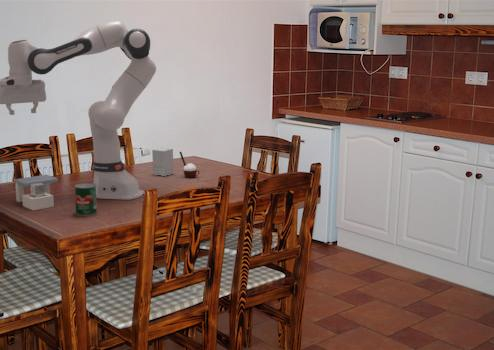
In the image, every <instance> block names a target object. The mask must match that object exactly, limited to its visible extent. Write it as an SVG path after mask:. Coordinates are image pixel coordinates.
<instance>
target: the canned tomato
mask: <svg viewBox="0 0 494 350" xmlns="http://www.w3.org/2000/svg"><path fill="white" fill-rule="evenodd" d="M93 183H94V182H93ZM93 183H92V182H82V183H77V184H74V201H75V204H74V205H75V215H77V216H81V217H89V216H90V217H91V216H94V215H96V214H97V212H98V210H97V208H98V207H97V206H98V205H97V198H96V184H93Z"/></svg>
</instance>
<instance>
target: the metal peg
mask: <svg viewBox="0 0 494 350" xmlns="http://www.w3.org/2000/svg"><path fill="white" fill-rule="evenodd" d="M29 187H30V194H31V197H33V198H36V197H42V196H45V186H44V184H42V183H35V184H30V186H29Z"/></svg>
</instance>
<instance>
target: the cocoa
mask: <svg viewBox="0 0 494 350" xmlns="http://www.w3.org/2000/svg"><path fill="white" fill-rule="evenodd" d="M179 156H180V158H181V160H182V163H183V165H184V166H183V175H184V177H185V176H186V178H187V177H193V178H194V176H195V177H197V176H198V175H199V174H200V170H198V169H197V166H196V165H195V164H193V163H191V162H190V163H186V161H185V159H184V156H183V153H182V151H179ZM197 172H198V173H197Z"/></svg>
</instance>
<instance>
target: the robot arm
mask: <svg viewBox="0 0 494 350" xmlns="http://www.w3.org/2000/svg"><path fill="white" fill-rule="evenodd" d="M114 48H120V50H121V51H122V53H124V55H125V56H126V57H127V58H129V60H131V62H130V63H129V65H128V67H127V68H126V69H125V70H124V71H123V73H122V74H121V75H120V76H119V77H118V78H117V80H116V81H115V82H114V84H113V85H112V86H111V89H110V91H109V93H108V95H107V97H106V99H105V100H100V101H97V102H94V103H93V104H91V105H90V106H89V109H88V111H87V112H88V113H87V114H88V119H89V126H90V131H91V137H92V143H93V144H92V146H93V161H92V170H93V184H96V199H103V200H124V201H125V200H135V199H139V198H140V197H142V196H144V195H145V191H144V190H142V189H140V186H139V182H138V180H137V179H136V177H134V176H133V175H132V174H130V173H129V172H128V171H127V170H126V169H125V167H126V166H127V162H124V163H123V162H122V160H121V142H120V139H119V135H118V129H120V128H121V127H122V126H123V125H124V121H125V118H126V117H127V115H128V113H129V112H130V110H131V108H132V106H133V105H134V103H135V102H136V100H137V99H138V98H139V97H140V96H141V94H142V93H143V92H144V90H145V89H146V88H147V87H148V85H149V84H150V82H151V81H152V79H153V77H154V76H155V74H156V71H157V66H156V64H155V62H154V61H153V59H151V58H150V57H149V55H150V50H151V39H150V35H149V34H148V33H147V32H146V31H145V30H143V29H141V28H131V29H130V30H128V29H127V27H126V25H125V23H124V22H122V21H120V20H110V21H106V22H102V23H99V24H96V25H94V26H92V27H89V28H87V29H85V30H84V31H82V32H81V33H80V34H79V35H78V36H76V37H75V38H74V39H73V40H71V41H69V42H66V43H63V44H61V45H59V46H56V47H53V48H48V49H47V48H43V47H40V46H39V45H38V46H37V45H36V44H33V43H31V42H30V41H28V40H27V39H21V40H20V39H19V40H16V41H12V42H11V43H10V44H9V45H8V49H7V61H8V67H9V71H8V76H5V77H3V78H0V105H5V106H6V108H7V110H8V112H9V113H8V114H9V115H10V116H14V115H15V110H13V109H12V104H14V105H16V104H25V103H26V104H29V103H32V105H33V106H32V108H31V109H30V113H31V114H37V108H38V106H39V102H40V103H42V102H43V103H45V102H46V101H47V93H46V83H45V81H44V80H42V79H33V76H32V74H33V73H34V74H36V75H46V74H48V73H50V72H51V71H52V70H53V69H54V68H55V67H56V66H57V65H59V64H61V63H63V62H66V61H69V60H71V59H73V58H76V57H80V56H81V57H82V56H89V55H95V54H96V55H97V54H101V53H103V52H106V51H109V50H112V49H114ZM143 194H144V195H143Z"/></svg>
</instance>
